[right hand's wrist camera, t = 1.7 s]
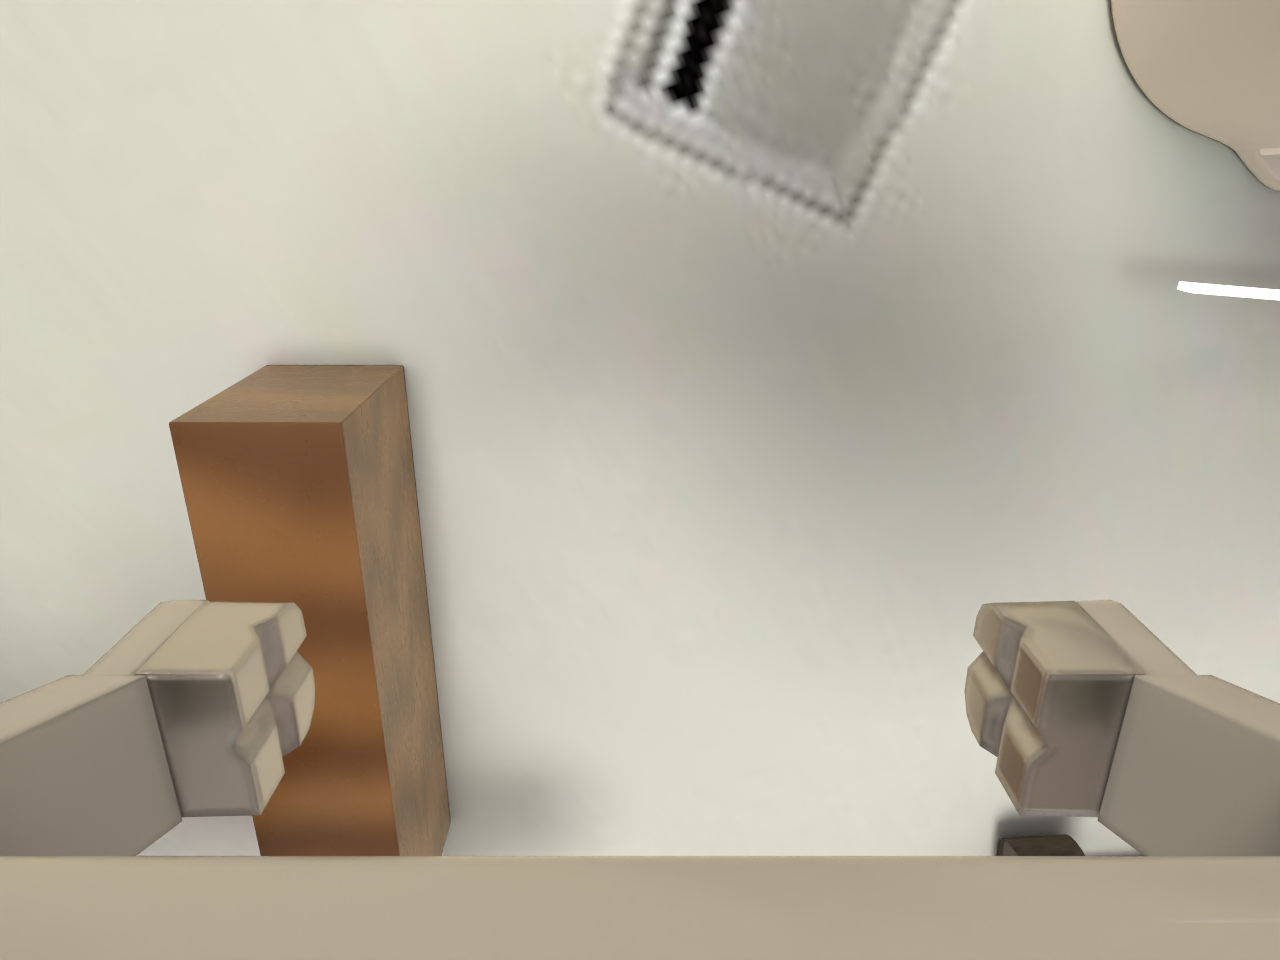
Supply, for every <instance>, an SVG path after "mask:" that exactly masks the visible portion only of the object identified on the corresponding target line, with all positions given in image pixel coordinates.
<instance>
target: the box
mask: <svg viewBox="0 0 1280 960" xmlns="http://www.w3.org/2000/svg"><path fill="white" fill-rule="evenodd" d="M169 427H170V431H171V436H172V441H173V445H174V450H175V455H176V459H177V464H178V469H179V473H180V478H181V483H182V488H183V492H184V497H185V502H186V506H187V511H188V516H189V520H190V525H191V530H192V534H193V539H194V544H195V549H196V553H197V558H198V563H199V567H200V572H201V577H202V581H203V586H204V591H205V596H206V600H208V601H210V602H211V601H242V602H294V603H295V604H296V605H297V606H298V607H299V609H300V610H301V611H302V615H303V620H304V624H305V629H306V634H307V636H306V637H305V639H304V640H303V642H302V643H301V645H300V647H299V648H298V650H297V652H298V653H299V654H300V655H301V656H302V657H303V658H304V660H305V661H306V662H307V663H308V664H309V665H310V666H311V667H312V670H313V676H314V683H315V706H314V711H313V715H312V719H311V723H310V728H309V730H308V732H307V734H306V736H305V738H304V739H303V741H302V743H301V745H300V746H299V747H298V748H296V749H294V750H293V751H291V752H290V753H288V754H286V755H285V756H283V757H282V759H283V764H284V770H285V773H284V775H283V777H282V779H281V780H280V782H279V784H278V786H277V787H276V789H275V791H274V793H273V794H272V796H271V798H270V799H269V801H268V803H267V805H266V806H265V808H264V810H263V812H262V813H261V815H252V816H253V821H254V826H255V830H256V835H257V840H258V844H259V849H260V854H261V856H441V855H442V852H443V848H444V844H445V841H446V837H447V834H448V830H449V827H450V814H449V805H448V795H447V785H446V776H445V766H444V756H443V747H442V737H441V727H440V718H439V708H438V698H437V689H436V679H435V669H434V660H433V650H432V640H431V631H430V621H429V611H428V602H427V592H426V582H425V573H424V563H423V553H422V544H421V534H420V524H419V515H418V505H417V495H416V486H415V476H414V466H413V457H412V447H411V437H410V428H409V418H408V408H407V399H406V389H405V379H404V370H403V366H366V365H267V366H265V367H263V368H261V369H260V370H258V371H256V372H255V373H253V374H251V375H250V376H248V377H246V378H244V379H243V380H241V381H239V382H238V383H236V384H234V385H232V386H231V387H229V388H227V389H226V390H224V391H222V392H221V393H219V394H217V395H215V396H214V397H212V398H210V399H209V400H207V401H205V402H203V403H202V404H200V405H198V406H197V407H195V408H193V409H192V410H190V411H188V412H186V413H185V414H183V415H181V416H180V417H178V418H176V419H174V420H173V421H171V422H169Z"/></svg>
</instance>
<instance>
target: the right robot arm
mask: <svg viewBox="0 0 1280 960" xmlns="http://www.w3.org/2000/svg"><path fill="white" fill-rule="evenodd" d="M1111 7H1112V15H1113V22H1114V27H1115V32H1116V36H1117V40H1118V43H1119V46H1120V49H1121V52H1122V55H1123V57H1124V60H1125V62H1126V64H1127V66H1128V68H1129V70H1130V72H1131V74H1132V76H1133V78H1134V79H1135V81H1136V82H1137V84H1138V86H1139V87H1140V88H1141V90H1142V91H1143V92H1144V94H1145V95H1146V96H1147V97H1148V98H1149V99H1150V101H1151V102H1152V103H1153V104H1154V105H1155V106H1156V107H1157V108H1158V109H1160V110H1161V111H1162V112H1163V113H1164V114H1166V115H1167V116H1168V117H1170V118H1171V119H1172V120H1174V121H1175V122H1177V123H1179V124H1180V125H1182V126H1184V127H1186V128H1188V129H1190V130H1192V131H1194V132H1197V133H1199V134H1202V135H1204V136H1207V137H1209V138H1212V139H1214V140H1217V141H1219V142H1221V143H1223V144H1225V145H1227V146H1229V147H1230V148H1232V149H1233V150H1235V151H1236V153H1237V154H1238V156H1239V157H1240V158H1241V160H1242V161H1243V162H1244V163H1245V165H1246V166H1247V167H1248V168H1249V170H1250V171H1251V172H1252V173H1253V174H1254V175H1255V176H1256V178H1257V179H1258V180H1259V181H1261V182H1262V183H1263V184H1264V185H1265V186H1267V187H1269V188H1270V189H1273V190H1277V191H1280V0H1111ZM1177 289H1179V290H1182V291H1186V292H1190V293H1198V294H1210V295H1222V296H1234V297H1246V298H1259V299H1271V300H1280V290H1275V289H1263V288H1251V287H1239V286H1227V285H1215V284H1203V283H1191V282H1179V285H1178V288H1177ZM306 636H307V634H306V629H305V624H304V620H303V615H302V611H301V610H300V609H299V607H298V606H297V605H296V604H295V603H294V602H242V601H211V602H210V601H208V600H190V601H168V602H160V603H159V604H158V605H157V606H156V607H155V608H154V609H153V610H152V611H151V612H150V613H149V614H148V615H147V616H145V617H144V618H143V619H142V620H141V621H140V622H139V623H138V624H137V625H136V626H135V627H134V628H133V629H132V630H130V631H129V632H128V633H127V634H126V635H125V636H124V637H123V638H122V639H121V640H120V641H119V642H118V643H117V644H116V645H114V646H113V647H112V648H111V649H110V650H109V651H108V652H107V653H106V654H105V655H104V656H103V657H102V658H101V659H100V660H98V661H97V662H96V663H95V664H94V665H93V666H92V667H91V668H90V669H89V670H88V671H87V672H86V673H85V674H83V675H68V676H66V677H63V678H61V679H58V680H56V681H54V682H51V683H49V684H46V685H44V686H42V687H39V688H37V689H34V690H32V691H30V692H27V693H25V694H22V695H20V696H18V697H15V698H13V699H10V700H8V701H6V702H3V703H1V704H0V960H1280V704H1279V703H1277V702H1274V701H1272V700H1270V699H1267V698H1265V697H1262V696H1260V695H1258V694H1255V693H1253V692H1250V691H1248V690H1246V689H1243V688H1241V687H1238V686H1236V685H1233V684H1231V683H1229V682H1226V681H1224V680H1221V679H1219V678H1217V677H1214V676H1212V675H1197V674H1196V673H1194V672H1193V671H1192V670H1191V669H1190V668H1189V667H1188V666H1187V665H1186V664H1185V663H1184V662H1183V661H1182V660H1181V659H1180V658H1178V657H1177V656H1176V655H1175V654H1174V653H1173V652H1172V651H1171V650H1170V649H1169V648H1168V647H1167V646H1166V645H1165V644H1164V643H1162V642H1161V641H1160V640H1159V639H1158V638H1157V637H1156V636H1155V635H1154V634H1153V633H1152V632H1151V631H1150V630H1149V629H1148V628H1147V627H1145V626H1144V625H1143V624H1142V623H1141V622H1140V621H1139V620H1138V619H1137V618H1136V617H1135V616H1134V615H1133V614H1132V613H1131V612H1129V611H1128V610H1127V609H1126V608H1125V607H1124V606H1123V605H1122V604H1121V603H1118V602H1115V601H1112V600H1095V601H1053V602H1011V603H989V604H982V606H981V609H980V611H979V613H978V615H977V618H976V623H975V628H974V634H973V636H974V637H975V639H976V640H977V642H978V643H979V645H980V647H981V648H982V650H983V652H982V653H981V654H980V655H979V656H978V657H977V658H976V660H975V661H974V662H973V663H972V664H971V665H970V666H969V667H968V670H967V678H966V685H965V701H966V712H967V717H968V720H969V723H970V727H971V730H972V732H973V734H974V736H975V738H976V740H977V741H978V743H979V745H980V746H981V747H982V748H984V749H986V750H987V751H989V752H990V753H992V754H994V755H995V756H997V757H998V759H997V764H996V770H995V773H996V775H997V777H998V779H999V780H1000V782H1001V784H1002V786H1003V787H1004V789H1005V791H1006V792H1007V794H1008V796H1009V798H1010V799H1011V801H1012V803H1013V805H1014V806H1015V808H1016V810H1017V811H1018V813H1019V815H1038V816H1075V817H1098V821H1099V822H1100V823H1102V824H1103V825H1104V826H1106V827H1107V828H1108V829H1109V830H1111V831H1112V832H1113V833H1115V834H1116V835H1117V836H1119V837H1120V838H1121V839H1123V840H1124V841H1125V842H1127V843H1128V844H1129V845H1131V846H1132V847H1133V848H1135V849H1136V850H1137V851H1139V852H1140V853H1141V854H1142V855H1144V856H136V855H138V854H139V853H140V852H142V851H143V850H144V849H146V848H147V847H148V846H150V845H151V844H152V843H154V842H155V841H156V840H158V839H159V838H160V837H162V836H163V835H164V834H166V833H167V832H168V831H170V830H171V829H172V828H173V827H175V826H176V825H177V824H179V823H180V822H181V821H182V817H204V816H240V815H261V813H262V812H263V810H264V808H265V806H266V805H267V803H268V801H269V799H270V798H271V796H272V794H273V793H274V791H275V789H276V787H277V786H278V784H279V782H280V780H281V779H282V777H283V775H284V773H285V770H284V764H283V759H282V757H283V756H285V755H286V754H288V753H290V752H291V751H293V750H294V749H296V748H298V747H299V746H300V745H301V743H302V741H303V739H304V738H305V736H306V734H307V732H308V730H309V728H310V723H311V719H312V715H313V711H314V706H315V683H314V676H313V670H312V667H311V666H310V665H309V664H308V663H307V662H306V661H305V660H304V658H303V657H302V656H301V655H300V654H299V653H298V652H297V650H298V648H299V647H300V645H301V643H302V642H303V640H304V639H305V637H306Z"/></svg>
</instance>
